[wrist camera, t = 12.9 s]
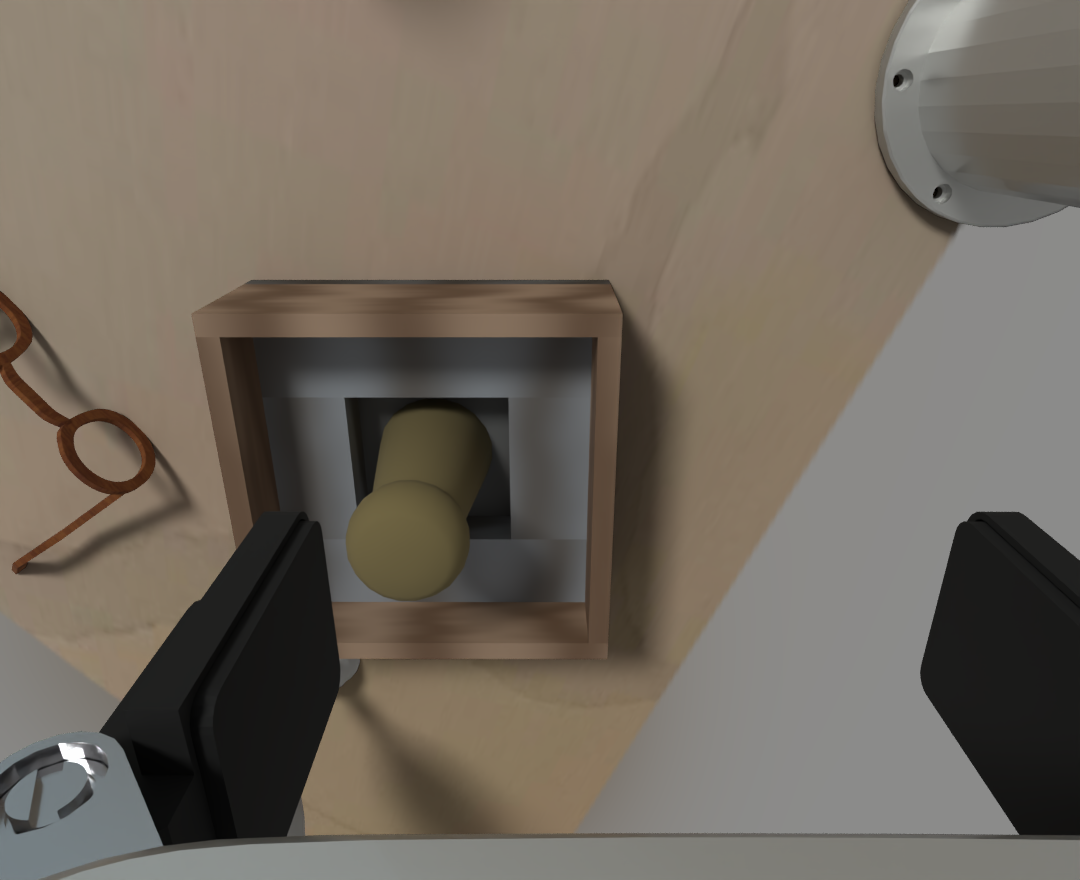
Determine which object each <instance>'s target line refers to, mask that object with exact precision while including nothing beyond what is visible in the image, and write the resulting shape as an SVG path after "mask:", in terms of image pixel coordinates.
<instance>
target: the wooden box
mask: <svg viewBox="0 0 1080 880" xmlns="http://www.w3.org/2000/svg"><path fill="white" fill-rule="evenodd" d="M191 315H192V320H193V325H194V331H195V336H196V341H197V346H198V351H199V357H200V362H201V367H202V372H203V378H204V383H205V388H206V393H207V399H208V404H209V409H210V414H211V419H212V425H213V430H214V435H215V440H216V446H217V451H218V456H219V461H220V467H221V472H222V477H223V482H224V488H225V493H226V498H227V503H228V508H229V514H230V519H231V524H232V529H233V535H234V540H235V545H236V550H237V548H238V547H239V545H240V544H241V542H242V541H243V540H244V538H245V537H246V535H247V534H248V533H249V531H250V530H251V528H252V527H253V526H254V524H255V523H256V521H257V520H258V518H259V517H260V516H261V514H262V513H264V512H266V511H304V512H305V513H306V514H307V516H308V518H309V521H318V522H319V523H320V525H321V529H322V535H323V542H324V549H325V557H326V564H327V571H328V579H329V586H330V593H331V601H332V608H333V616H334V623H335V630H336V638H337V645H338V652H339V659H607V658H608V635H609V613H610V590H611V568H612V545H613V523H614V500H615V477H616V455H617V432H618V410H619V387H620V365H621V342H622V320H623V313H622V311H621V308H620V306H619V303H618V301H617V299H616V296H615V294H614V291H613V289H612V286H611V284H610V281H609V280H251V281H249V282H247V283H246V284H244V285H242V286H240V287H238V288H237V289H235V290H233V291H231V292H230V293H228V294H226V295H224V296H222V297H221V298H219V299H217V300H215V301H214V302H212V303H210V304H208V305H206V306H205V307H203V308H201V309H199V310H197V311H196V312H194V313H192V314H191ZM422 399H444V400H448V401H451V402H454V403H458V404H460V405H462V406H463V407H465V408H466V409H468V410H470V411H471V412H473V413H474V414H475V415H476V416H477V417H478V419H479V420H480V421H481V422H482V423H483V425H484V426H485V427H486V429H487V432H488V435H489V437H490V440H491V442H492V461H491V464H490V467H489V470H488V473H487V475H486V477H485V480H484V482H483V484H482V486H481V488H480V490H479V492H478V494H477V497H476V499H475V501H474V503H473V505H472V507H471V509H470V511H469V514H468V516H467V518H466V521H467V523H468V526H469V535H470V548H469V553H468V556H467V560H466V563H465V566H464V568H463V570H462V571H461V573H460V574H459V575H458V576H457V578H456V579H455V580H454V581H453V583H452V584H451V585H450V586H449V587H447V588H446V589H444V590H443V591H441V592H440V593H438V594H437V595H434V596H431V597H428V598H425V599H421V600H417V601H397V600H394V599H390V598H386V597H383V596H381V595H379V594H377V593H376V592H374V591H372V590H370V589H369V588H368V587H367V586H366V585H365V584H364V583H363V582H362V581H361V580H360V579H359V578H358V577H357V575H356V574H355V572H354V570H353V568H352V567H351V565H350V563H349V561H348V557H347V550H346V533H347V528H348V524H349V520H350V518H351V516H352V514H353V512H354V511H355V510H356V508H357V507H358V505H359V504H360V502H361V501H362V500H363V499H364V498H365V497H366V496H368V495H369V494H370V493H372V492H373V486H374V480H375V473H376V467H377V461H378V455H379V449H380V443H381V439H382V435H383V431H384V427H385V426H386V424H387V423H388V422H389V420H390V419H391V417H392V416H393V414H395V413H396V412H397V411H399V410H400V409H401V408H403V407H404V406H406V405H407V404H410V403H413V402H416V401H419V400H422Z"/></svg>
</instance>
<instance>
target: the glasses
mask: <svg viewBox="0 0 1080 880" xmlns="http://www.w3.org/2000/svg"><path fill="white" fill-rule="evenodd" d="M0 308H1V309H2V310H3V311H4V312H5V313H6V314H7V315H8V317H9V318H10V319H11V321H12V322H13V324H14V326H15V328H16V332H17V340H16V342H15V344H14V345H13V347H11V348H10V349H8V350H7V351H4V352H2V353H0V374H1V376H2V378H3V380H4V382H5V383H6V385H7V386H8V387H9V388H10V389H11V390H12V391H13V392H14V393H15V394H16V395H17V396H18V397H19V398H20V399H21V400H22V401H23V402H24V403H26V404H27V405H28V406H29V407H30V408H31V409H32V410H33V411H34V412H35V413H36V414H37V415H38V416H39V417H41V418H42V419H43V420H45V421H47V422H49V423H51V424H53V425H55V426H58V427H60V429H59V430H58V432H57V442H58V448H59V452H60V455H61V457H62V459H63V461H64V463H65V464H66V466H67V467H68V469H69V470H70V471H71V472H72V473H73V474H74V475H75V476H76V477H77V478H78V479H79V480H81V481H82V482H83V483H84V484H86V485H88V486H89V487H91V488H92V489H95V490H97V491H99V492H102V493H106V494H111V495H109V496H108V497H107V498H105V499H104V500H102V501H101V502H100V503H98V504H97V505H96V506H94V507H93V508H92V509H90V510H89V511H87V512H86V513H85V514H83V515H82V516H81V517H79V518H78V519H77V520H75V521H74V522H72V523H71V524H70V525H68V526H67V527H66V528H64V529H63V530H61V531H60V532H58V533H57V534H55V535H54V536H52V537H51V538H49V539H48V540H46V541H45V542H43V543H42V544H41V545H39V546H38V547H36V548H35V549H33V550H32V551H30V552H29V553H27V554H26V555H24V556H23V557H21V558H20V559H19V560H17V561H16V562H14V563H13V566H12V571H13V572H14V573H15V574H17V573H19V572H20V571H21V570H23V569H24V568H25V567H26V565H27V562H28V561H29V560H31V559H33V558H34V557H36V556H37V555H39V554H40V553H42V552H43V551H45V550H46V549H48V548H49V547H51V546H53V545H54V544H56V543H57V542H59V541H60V540H62V539H63V538H64V537H66V536H67V535H69V534H70V533H71V532H73V531H74V530H75V529H77V528H78V527H80V526H81V525H82V524H84V523H85V522H87V521H88V520H89V519H91V518H92V517H93V516H95V515H96V514H98V513H99V512H100V511H102V510H103V509H104V508H106V507H107V506H109V505H110V504H111V503H113V502H114V501H116V500H117V499H118V498H120V497H121V496H122V495H124V494H125V493H129V492H131V491H133V490H135V489H137V488H138V487H140V486H141V485H142V484H144V483H145V482H146V481H147V480H148V479H149V478H150V476H151V474H152V473H153V471H154V467H155V453H154V449H153V447H152V445H151V443H150V441H149V440H148V438H147V437H146V435H145V434H144V433H143V432H142V431H141V430H140V429H139V428H138V427H137V426H136V425H135V424H134V423H133V422H132V421H130V420H129V419H128V418H126V417H125V416H123V415H121V414H119V413H117V412H114V411H111V410H107V409H95V410H90V411H87V412H84V413H81V414H79V415H77V416H75V417H73V418H71V419H68V418H66V417H64V416H63V415H61V414H59V413H58V412H56V411H55V410H54V409H52V408H51V407H50V406H49V405H48V404H47V403H46V402H45V401H44V400H43V399H42V398H41V397H40V396H39V395H38V394H37V393H36V392H35V391H34V390H33V389H32V388H31V387H30V386H28V385H27V384H26V383H25V382H24V381H23V380H22V379H21V378H20V377H19V375H18V374H17V373H16V371H15V370H14V368H13V366H12V364H11V362H13V361H14V360H15V359H17V358H18V357H19V356H20V355H21V354H22V353H23V352H24V351H25V350H26V349H27V348H28V346H29V345H30V344H31V342H32V336H33V334H32V329H31V326H30V324H29V322H28V319H27V318H26V317H25V315H24V314H23V312H22V311H21V310H20V309H19V308H18V307H17V306H16V305H15V304H14V303H13V302H12V301H11V300H10V299H9V298H8V297H7V296H6V295H4V294H3V293H2V292H0ZM95 421H104V422H108V423H111V424H113V425H115V426H117V427H119V428H120V429H122V430H123V431H125V432H126V433H127V434H128V435H129V436H130V437H131V438H132V439H133V440H134V442H135V443H136V445H137V446H138V448H139V450H140V452H141V457H142V465H141V468H140V470H139V472H138V474H137V475H136V476H135V477H134V478H133V479H130V480H128V481H123V482H113V481H108V480H105V479H103V478H101V477H99V476H97V475H96V474H94V473H93V472H92V471H90V470H89V469H88V468H87V467H86V466H85V465H84V464H83V463H82V461H81V460H80V459H79V457H78V455H77V453H76V451H75V448H74V434H75V432H76V430H77V429H78V428H79V427H80V426H82V425H84V424H87V423H90V422H95Z"/></svg>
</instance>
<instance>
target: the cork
mask: <svg viewBox="0 0 1080 880" xmlns="http://www.w3.org/2000/svg"><path fill="white" fill-rule="evenodd" d="M491 461H492V442H491V440H490V437H489V435H488V432H487V429H486V427H485V426H484V425H483V423H482V422H481V421H480V420H479V419H478V417H477V416H476V415H475V414H474V413H473V412H471V411H470V410H468V409H466V408H465V407H463V406H462V405H460V404H458V403H454V402H451V401H448V400H444V399H422V400H419V401H416V402H413V403H410V404H407V405H406V406H404V407H403V408H401V409H400V410H399V411H397V412H396V413H395V414H393V416H392V417H391V419H390V420H389V422H388V423H387V424H386V426H385V427H384V431H383V435H382V439H381V443H380V449H379V455H378V461H377V467H376V473H375V480H374V486H373V492H372V493H370V494H369V495H368V496H366V497H365V498H364V499H363V500H362V501H361V502H360V504H359V505H358V507H357V508H356V510H355V511H354V512H353V514H352V516H351V518H350V520H349V524H348V528H347V533H346V550H347V557H348V561H349V563H350V565H351V567H352V568H353V570H354V572H355V574H356V575H357V577H358V578H359V579H360V580H361V581H362V582H363V583H364V584H365V585H366V586H367V587H368V588H369V589H370V590H372V591H374V592H376V593H377V594H379V595H381V596H383V597H386V598H390V599H394V600H397V601H417V600H421V599H425V598H428V597H431V596H434V595H437V594H438V593H440V592H441V591H443V590H444V589H446V588H447V587H449V586H450V585H451V584H452V583H453V581H454V580H455V579H456V578H457V576H458V575H459V574H460V573H461V571H462V570H463V568H464V566H465V563H466V560H467V556H468V553H469V548H470V535H469V526H468V523H467V521H466V518H467V516H468V514H469V511H470V509H471V507H472V505H473V503H474V501H475V499H476V497H477V494H478V492H479V490H480V488H481V486H482V484H483V482H484V480H485V477H486V475H487V473H488V470H489V467H490V464H491Z"/></svg>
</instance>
